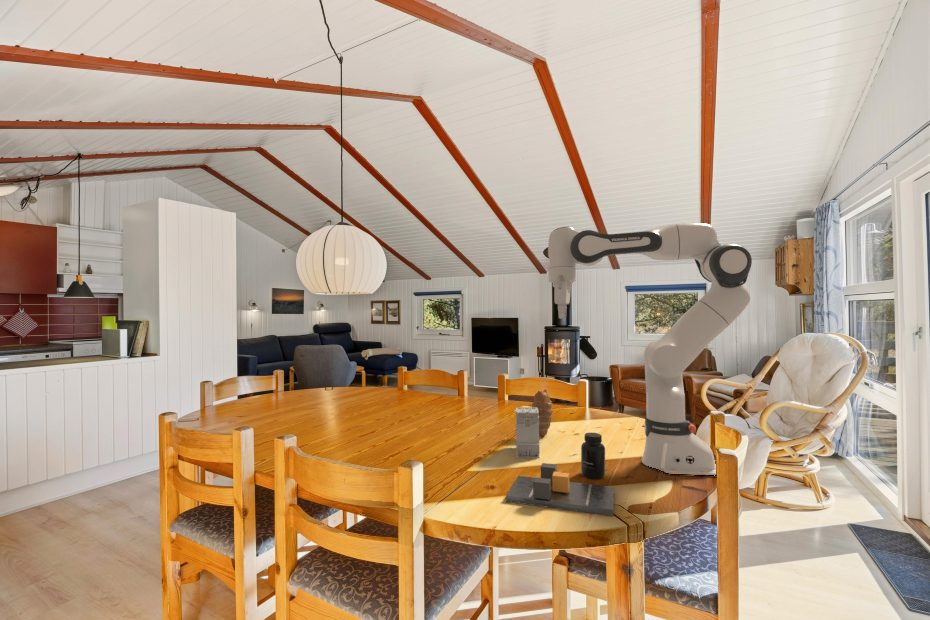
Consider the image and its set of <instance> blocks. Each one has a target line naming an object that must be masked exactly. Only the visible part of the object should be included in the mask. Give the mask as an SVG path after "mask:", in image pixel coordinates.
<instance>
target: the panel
mask: <svg viewBox="0 0 930 620" xmlns="http://www.w3.org/2000/svg"><path fill="white" fill-rule="evenodd" d="M534 479H535V477H532V476H525V475H524V476H523V475H518V476H517V477H516V479H515V480H514V482H513V484H512V485H511V487H510V489H509V491H508V492H507V493H506V495H505V500H506V502H509V503H516V504H521V505H528V506H529V505H530V506H535V507H544V508H552V509H560V510H565V511H566V510H567V511H574V512H581V513H589V514H593V515H594V514H596V515H601V516H609V517H610V516H611V517H614V507H613V505H614V503H615V502H614V501H615V487H614V486H608V485H600V484H592V483H583V482H574V481H569V485H570V489H569V492H568V493H565V492H557V491H553V489H552V482H551V496H550V499H549V500H548V499H540V498H533V481H534Z"/></svg>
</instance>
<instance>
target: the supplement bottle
mask: <svg viewBox="0 0 930 620" xmlns="http://www.w3.org/2000/svg"><path fill="white" fill-rule="evenodd" d="M602 437H603V436H602V434H600V433H598V432H586V433H585V434H584V442H582V444H581V445H580V446H581V447H580V449H581V450H580V472H581V475H582V476H583V477H584V478H587V479H593V480H601V479H603V478H605V475H606V447H605V445H604V444H603V443H602V442H603V440H602Z"/></svg>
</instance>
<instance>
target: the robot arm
mask: <svg viewBox="0 0 930 620" xmlns="http://www.w3.org/2000/svg"><path fill="white" fill-rule="evenodd" d="M547 244H548V246H547V253H548V254H547V255H548V259H549V263H548V266H547V267H548V282H549V283H552V287H553V288H554V293H553V295H554V297H553V298H554V304H555V305H557V311H558V312H557V313H558V319H564V318H567V309H568V307H567V305H570V301H571V300H570V299H571V291H572V286H573V284H574V282H576V281H577V280H576V279H577V278H576V276H577V274H576V270H577V269H576V265H583V266H587V267H591V266H595V265H597V264H598V263H600V262H601V261H602V259H603V258H604V257H606V256H607V257H608V256H615V255H617V256H618V255H619V256H620V255H628V254H629V255H630V254H639V255H643V256H646V257H648V258H650V259H652V260H656V261H678V260H694V261H695V264H696V266H697V268H698V269H697V270H698V271H699V274H700V275H701V276H702V278H703V280H704V279H705V280H706V281H707V282H709V283H711V284H710V285H711V286H710V287H709V290H708V291H707V292H706V293H705V294H704V295H703V296H702V297H701V298H699V300H697V301H696V302H695V303H694V304H693V305H692V306H691V307H690V308H689V309H688V310H686V312H685V313H683V314H682V315H681V316H680V317H679V318H678V319H677V321H675V323H674V324H673V325H672V326H671V327H670V328H669V329H668V330H667V331H666V332H665V333H664V334H663V336H662V337H661V338H656V339H653V340H652V341H651V340H650V342H649V343H648V344H647V346H646V347H645V349H644V355H643V357H644V358H643V359H644V380H645V381H644V382H645V398H646V402H645V404H646V407H645V411H646V415H645V418H644V434H645V442H644V450H643V454H642V457H641V463H642V464H643V465H645V466H646V467H648V466H649V468H650V467H652V468H651V469H653V468H656V469H659V470H661V471H664V472H666V473H682V474H705V475H714V476H713V477H716V476H715V475H716V464H715V461H716V460H715V457H714V453H713V450H712V448H711V447H710V445H709V444H707V443H706V442H705V441H704V440H702V439H701V438H700V437H698V436H697V435H696V434H695V432H696V431H697V427H696V425H694V424H693V423H692V422H691V421H689V420H687V419H686V396H685V395H686V394H685V389H684V388H685V387H684V381H683V372H684V371H686V369H687V368H688V367H689V366H690V365H691V364H692V363H693V362H694V361H695V360H696V359H697V357H698V356H699V355H700V354H701V353H702V352H703V351H704V349H705V348H706V347H707V346H709V344H710V343H712V341H714V340H715V339H716V338H717V337H718V336H719V335H720V334H721V333H722V332H724V331H725V329H727V328H728V327H729V326H730V325H731V324H732V323H733V322H734V321H735V320H736V319H737V318H738V317H739V316H740V315H741V314H742V313H743V311H744V310H745V309H746V308H747V306H748V305H749V303H750V301H751V295H750V293H749V291H748V289H747V288H746V287H745V286H744V284H747V283H746V282H747V280H748V277H749V273H750V271H751V267H752V261H753V260H752V256H751V253H750V252H749V250H747V248H745V247H743V245H739V244H737V243H736V244H735V243H726V244H723V245H722V244H721V243H720V242H719V240H718V234H717V231H716V229H715V227H714V226H712V225H711V224H708V223H700V222H697V223H696V222H693V223H692V222H686V223H685V222H683V223H682V222H681V223H675V224H674V223H672V224H666V225H662V226H657V227H653V228H649V229H645V230H641V231H633V232H624V233H623V232H621V233H611V234H609V233H603V232H599V231H596V230H593V229H585V230H582V231H578V230H576V229H574V228H573V227H572V226H561V227H558V228H556V229H553V230H552V231H551V233H549V237H548V243H547ZM656 469H655V470H656ZM659 470H658V471H659ZM661 471H660V472H661Z"/></svg>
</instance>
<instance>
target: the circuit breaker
mask: <svg viewBox="0 0 930 620" xmlns="http://www.w3.org/2000/svg"><path fill="white" fill-rule="evenodd" d="M515 441H516V442H515V444H516V445H515V446H516V447H515V448H516V451H515V452H516V458H517V459H540V455H541V454H540V451H541V450H540V448H541V447H540V436H539V411H538V408H537V407H532V406H531V407H530V406H528V407H527V406H526V407H523V406H522V407H521V406H519V407H518V406H517V407H515Z"/></svg>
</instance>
